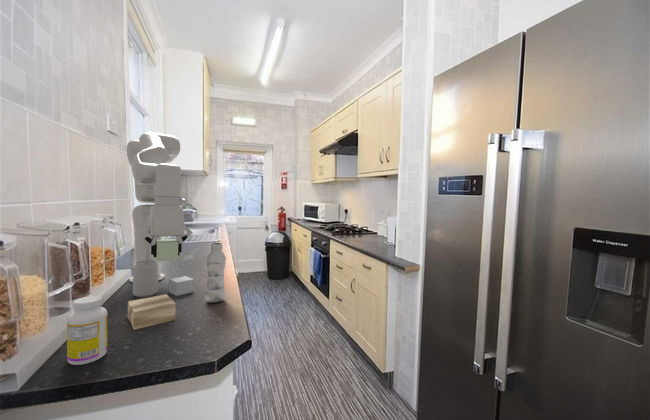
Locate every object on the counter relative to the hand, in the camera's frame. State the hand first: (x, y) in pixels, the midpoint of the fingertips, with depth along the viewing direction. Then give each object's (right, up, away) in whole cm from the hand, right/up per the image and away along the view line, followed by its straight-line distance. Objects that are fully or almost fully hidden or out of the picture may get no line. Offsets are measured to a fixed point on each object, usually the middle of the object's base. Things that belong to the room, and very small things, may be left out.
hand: (166, 255), depth 93 cm
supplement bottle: (+1, -17, -32) cm, 37 cm away
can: (-11, -15, +7) cm, 20 cm away
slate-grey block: (-1, -16, +11) cm, 19 cm away
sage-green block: (0, -1, 0) cm, 1 cm away
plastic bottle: (+15, -17, +3) cm, 23 cm away
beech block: (+3, -17, -12) cm, 21 cm away
